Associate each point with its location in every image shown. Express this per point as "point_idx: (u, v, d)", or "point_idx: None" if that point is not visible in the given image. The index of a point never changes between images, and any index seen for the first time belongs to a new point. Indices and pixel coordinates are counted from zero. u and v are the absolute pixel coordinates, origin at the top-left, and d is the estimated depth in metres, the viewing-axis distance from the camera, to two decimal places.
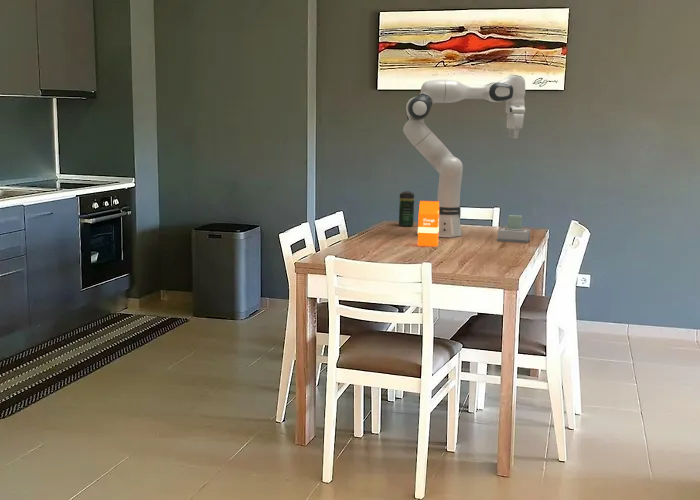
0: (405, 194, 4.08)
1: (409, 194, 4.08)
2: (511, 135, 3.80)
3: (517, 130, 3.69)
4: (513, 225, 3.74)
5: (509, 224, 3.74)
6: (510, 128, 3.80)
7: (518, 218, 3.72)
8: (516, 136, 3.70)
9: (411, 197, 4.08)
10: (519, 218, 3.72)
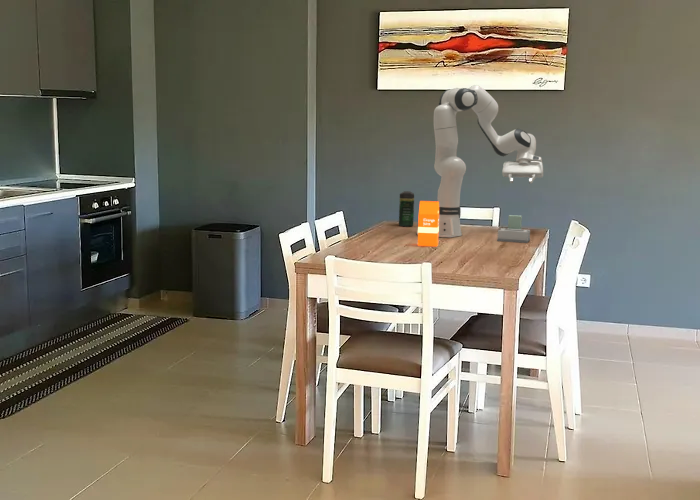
0: (405, 194, 4.08)
1: (409, 194, 4.08)
2: None
3: (535, 177, 3.83)
4: (513, 225, 3.74)
5: (509, 224, 3.74)
6: (511, 174, 3.87)
7: (518, 218, 3.72)
8: (532, 181, 3.81)
9: (411, 197, 4.08)
10: (519, 218, 3.72)
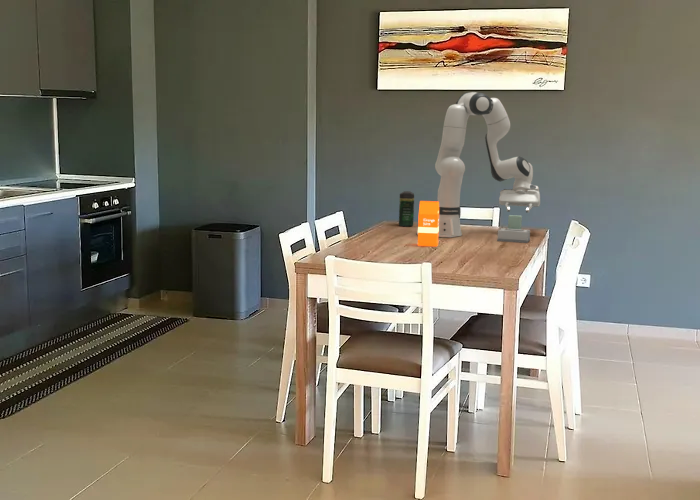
0: (405, 194, 4.08)
1: (409, 194, 4.08)
2: (509, 208, 3.83)
3: (532, 206, 3.81)
4: (513, 225, 3.74)
5: (509, 224, 3.74)
6: (508, 202, 3.85)
7: (518, 218, 3.72)
8: (529, 210, 3.80)
9: (411, 197, 4.08)
10: (519, 218, 3.72)
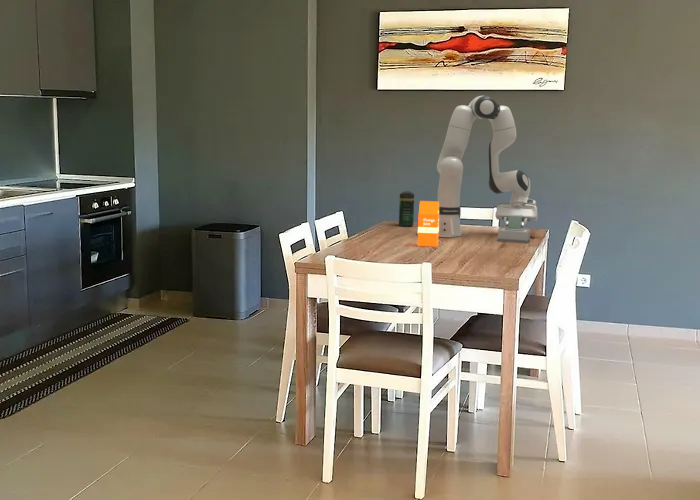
0: (405, 194, 4.08)
1: (409, 194, 4.08)
2: None
3: (527, 220, 3.75)
4: (513, 225, 3.74)
5: (509, 223, 3.74)
6: (507, 217, 3.78)
7: (518, 218, 3.72)
8: None
9: (411, 197, 4.08)
10: (519, 218, 3.72)
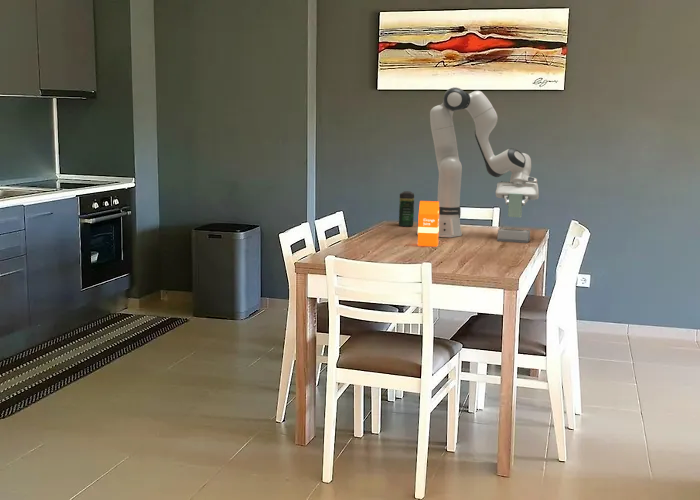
0: (405, 194, 4.08)
1: (409, 194, 4.08)
2: None
3: (528, 199, 3.65)
4: (514, 204, 3.64)
5: (509, 202, 3.65)
6: (507, 195, 3.68)
7: (518, 196, 3.63)
8: (524, 203, 3.64)
9: (411, 197, 4.08)
10: (520, 196, 3.63)
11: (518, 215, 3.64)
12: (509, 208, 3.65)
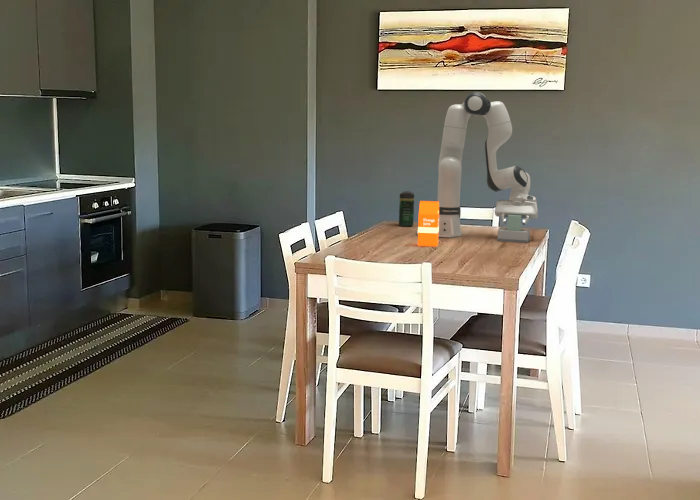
0: (405, 194, 4.08)
1: (409, 194, 4.08)
2: None
3: (529, 218, 3.66)
4: (512, 225, 3.66)
5: (508, 224, 3.66)
6: (504, 214, 3.70)
7: (517, 217, 3.64)
8: None
9: (411, 197, 4.08)
10: (519, 218, 3.64)
11: None
12: None
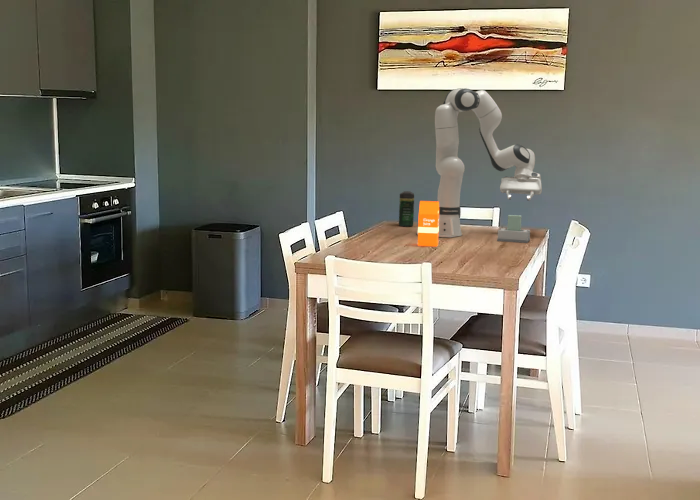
0: (405, 194, 4.08)
1: (409, 194, 4.08)
2: (510, 196, 3.78)
3: (533, 194, 3.76)
4: (512, 225, 3.66)
5: (508, 224, 3.66)
6: (509, 190, 3.80)
7: (517, 217, 3.64)
8: (530, 198, 3.75)
9: (411, 197, 4.08)
10: (519, 218, 3.64)
11: None
12: None
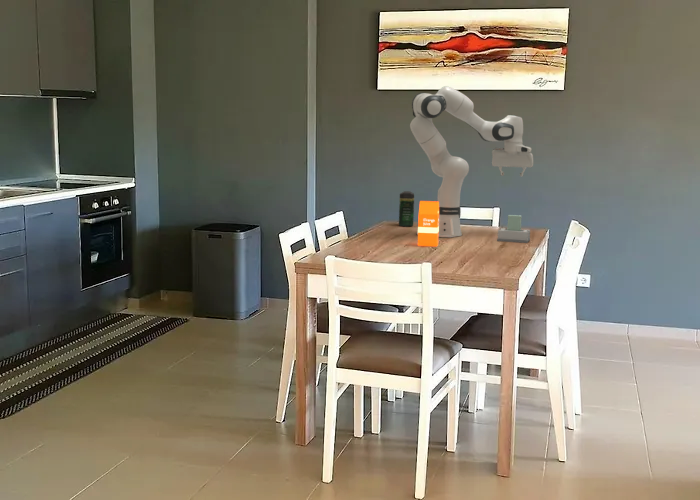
0: (405, 194, 4.08)
1: (409, 194, 4.08)
2: (503, 173, 3.86)
3: (525, 168, 3.82)
4: (512, 225, 3.66)
5: (508, 224, 3.66)
6: (501, 166, 3.85)
7: (517, 217, 3.64)
8: None
9: (411, 197, 4.08)
10: (519, 218, 3.64)
11: None
12: None
